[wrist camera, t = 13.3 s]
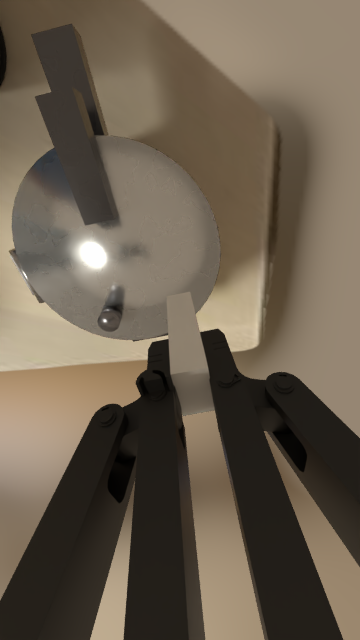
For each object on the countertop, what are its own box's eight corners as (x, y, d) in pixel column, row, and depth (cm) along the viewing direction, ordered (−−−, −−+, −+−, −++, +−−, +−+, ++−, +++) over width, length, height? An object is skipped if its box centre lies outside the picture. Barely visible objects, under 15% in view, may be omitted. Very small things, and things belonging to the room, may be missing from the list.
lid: (69, 345, 27) (59, 361, 25) (-54, 133, 16) (-89, 129, 14) (226, 320, 25) (231, 335, 23) (201, 66, 15) (205, 50, 13)
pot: (90, 315, 35) (70, 357, 28) (-13, 97, 22) (-104, 64, 15) (209, 292, 34) (221, 329, 27) (175, 48, 21) (181, -13, 14)
